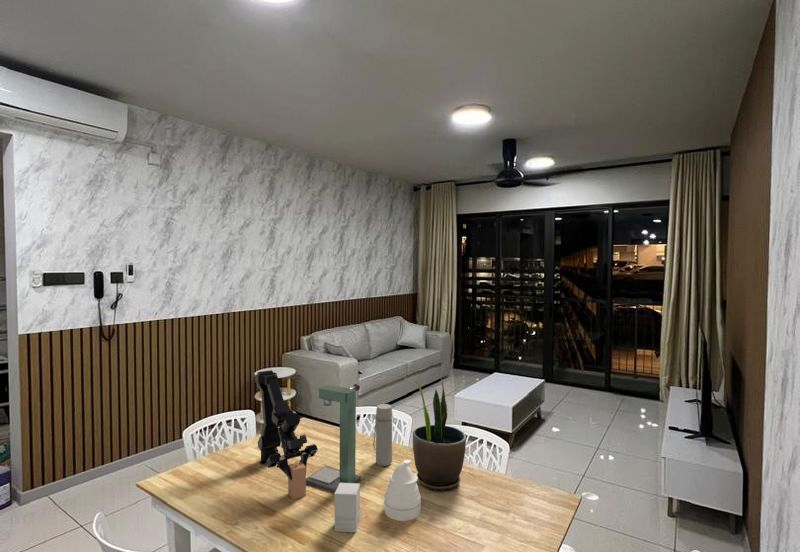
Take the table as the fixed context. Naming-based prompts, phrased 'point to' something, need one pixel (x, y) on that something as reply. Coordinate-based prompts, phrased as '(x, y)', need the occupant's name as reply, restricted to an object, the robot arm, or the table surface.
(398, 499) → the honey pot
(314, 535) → the table surface
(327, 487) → the arbor press
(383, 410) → the water bottle
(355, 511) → the supplement box
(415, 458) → the potted plant
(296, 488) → the block
